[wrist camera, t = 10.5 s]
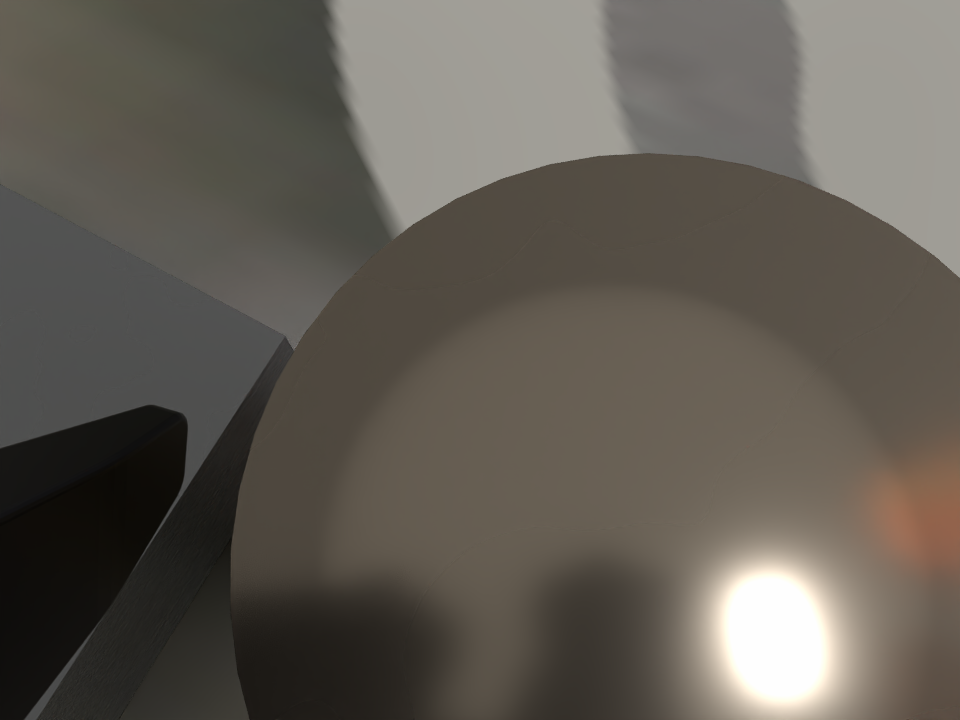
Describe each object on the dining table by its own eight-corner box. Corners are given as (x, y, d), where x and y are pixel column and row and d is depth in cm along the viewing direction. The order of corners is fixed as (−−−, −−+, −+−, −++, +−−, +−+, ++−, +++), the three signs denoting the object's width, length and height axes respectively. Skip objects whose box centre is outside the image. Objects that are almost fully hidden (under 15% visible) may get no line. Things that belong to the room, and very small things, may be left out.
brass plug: (518, 794, 17) (744, 1369, 4) (350, 615, 18) (41, 549, 5) (677, 612, 18) (1292, 539, 5) (511, 453, 19) (637, 21, 6)
